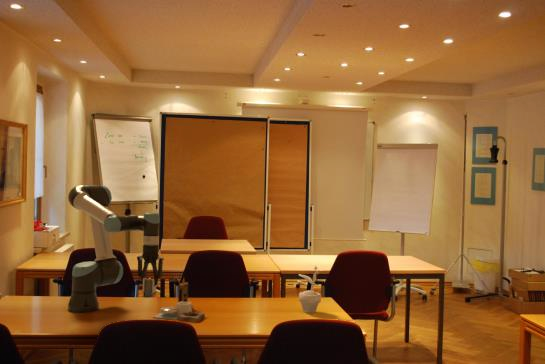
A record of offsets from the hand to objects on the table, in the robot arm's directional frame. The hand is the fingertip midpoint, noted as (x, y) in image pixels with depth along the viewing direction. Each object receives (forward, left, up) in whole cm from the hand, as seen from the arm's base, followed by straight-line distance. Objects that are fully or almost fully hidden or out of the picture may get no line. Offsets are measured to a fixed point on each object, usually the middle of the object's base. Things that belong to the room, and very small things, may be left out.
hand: (149, 291), depth 273 cm
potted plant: (+74, +38, -13) cm, 84 cm away
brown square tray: (+21, +4, -12) cm, 25 cm away
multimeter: (+13, +22, -13) cm, 29 cm away
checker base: (+9, +5, -12) cm, 16 cm away
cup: (+15, +9, -12) cm, 21 cm away
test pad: (+9, +5, -11) cm, 15 cm away
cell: (0, 0, -2) cm, 2 cm away
